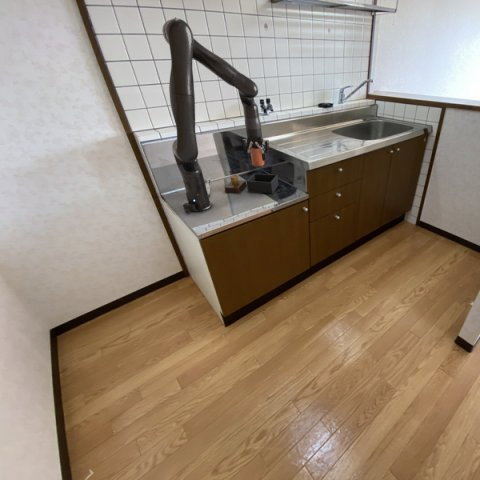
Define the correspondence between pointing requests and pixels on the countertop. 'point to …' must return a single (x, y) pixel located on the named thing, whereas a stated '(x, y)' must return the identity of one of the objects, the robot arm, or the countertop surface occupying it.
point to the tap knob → (234, 180)
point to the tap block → (235, 187)
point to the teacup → (208, 185)
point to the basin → (262, 183)
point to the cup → (256, 157)
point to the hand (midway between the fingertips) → (257, 159)
